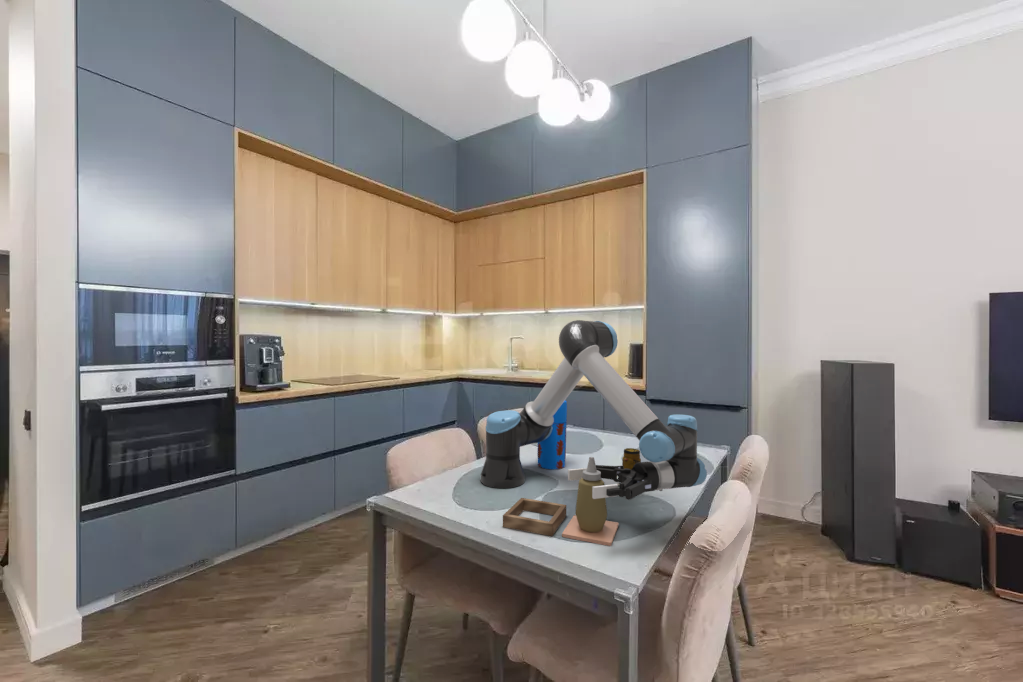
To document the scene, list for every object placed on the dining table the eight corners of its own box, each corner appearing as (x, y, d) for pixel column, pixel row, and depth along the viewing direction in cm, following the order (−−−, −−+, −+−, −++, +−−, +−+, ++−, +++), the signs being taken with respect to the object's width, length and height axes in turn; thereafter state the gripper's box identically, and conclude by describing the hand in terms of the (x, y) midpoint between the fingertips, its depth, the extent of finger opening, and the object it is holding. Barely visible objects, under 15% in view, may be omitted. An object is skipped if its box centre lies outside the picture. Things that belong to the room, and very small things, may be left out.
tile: (561, 536, 106) (561, 533, 106) (573, 518, 117) (573, 515, 117) (611, 546, 101) (611, 542, 101) (618, 525, 112) (618, 522, 112)
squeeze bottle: (587, 518, 115) (588, 451, 115) (613, 528, 109) (614, 457, 109) (568, 527, 109) (569, 457, 109) (595, 538, 103) (595, 464, 103)
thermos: (532, 462, 168) (534, 399, 168) (556, 460, 172) (557, 398, 172) (545, 470, 158) (547, 403, 158) (570, 467, 162) (572, 402, 162)
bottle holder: (502, 526, 111) (502, 515, 111) (521, 508, 123) (521, 497, 123) (552, 536, 106) (552, 524, 106) (566, 515, 118) (566, 504, 118)
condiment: (629, 480, 148) (629, 446, 148) (650, 487, 142) (651, 451, 142) (616, 485, 144) (616, 449, 144) (637, 492, 137) (638, 455, 137)
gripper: (683, 507, 102) (605, 518, 96) (625, 475, 126) (559, 482, 120) (683, 476, 102) (605, 484, 96) (625, 450, 126) (559, 455, 120)
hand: (579, 483), depth 108 cm, fingers open, 13 cm apart
